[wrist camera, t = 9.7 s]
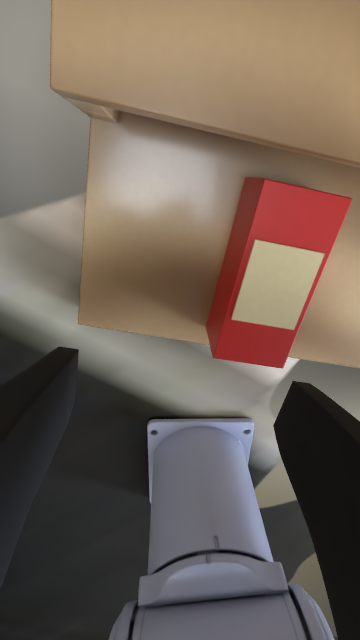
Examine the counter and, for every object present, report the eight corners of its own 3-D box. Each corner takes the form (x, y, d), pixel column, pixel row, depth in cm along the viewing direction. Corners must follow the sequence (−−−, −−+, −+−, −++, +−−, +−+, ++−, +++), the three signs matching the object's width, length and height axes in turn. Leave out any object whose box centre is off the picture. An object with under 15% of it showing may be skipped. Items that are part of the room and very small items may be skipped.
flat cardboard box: (351, 353, 21) (429, 430, 15) (86, 310, 19) (45, 378, 13) (527, 10, 14) (840, -130, 7) (117, -124, 11) (56, -485, 5)
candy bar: (264, 337, 18) (283, 370, 15) (205, 327, 18) (213, 359, 15) (317, 193, 15) (354, 198, 12) (245, 176, 14) (265, 178, 11)
